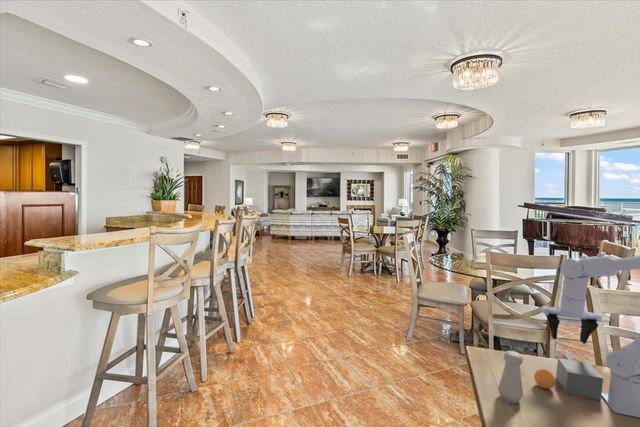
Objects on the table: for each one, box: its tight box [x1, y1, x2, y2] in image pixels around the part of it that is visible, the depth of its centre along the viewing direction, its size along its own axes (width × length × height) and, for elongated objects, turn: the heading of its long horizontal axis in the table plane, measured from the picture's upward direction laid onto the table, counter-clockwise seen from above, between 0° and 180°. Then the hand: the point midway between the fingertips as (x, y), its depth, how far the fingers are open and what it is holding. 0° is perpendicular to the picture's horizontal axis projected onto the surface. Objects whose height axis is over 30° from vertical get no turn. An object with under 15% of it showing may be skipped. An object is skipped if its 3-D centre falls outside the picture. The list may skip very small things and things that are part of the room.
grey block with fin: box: [555, 353, 604, 401], centre depth 97 cm, size 14×8×6 cm, turn 161°
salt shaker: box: [497, 350, 524, 405], centre depth 88 cm, size 6×6×13 cm
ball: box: [533, 368, 556, 390], centre depth 95 cm, size 5×5×5 cm
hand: (568, 339), depth 102 cm, fingers open, 7 cm apart
